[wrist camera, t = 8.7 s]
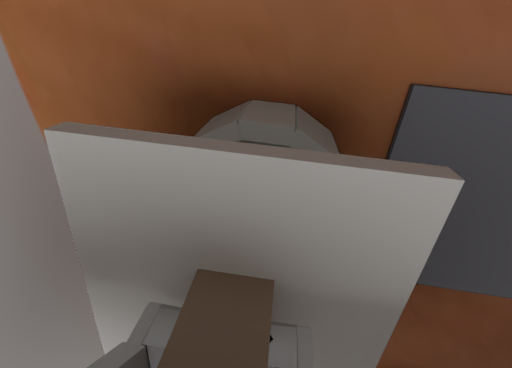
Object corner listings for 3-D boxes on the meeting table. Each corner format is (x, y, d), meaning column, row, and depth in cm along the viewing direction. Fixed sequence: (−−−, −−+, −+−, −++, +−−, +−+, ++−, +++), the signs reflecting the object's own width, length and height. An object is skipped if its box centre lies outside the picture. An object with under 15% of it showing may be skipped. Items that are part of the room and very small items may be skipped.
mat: (686, 113, 16) (697, 116, 15) (537, 298, 23) (542, 303, 23) (411, 83, 17) (414, 85, 16) (349, 268, 24) (350, 273, 24)
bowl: (359, 112, 18) (380, 137, 14) (324, 246, 23) (331, 295, 19) (191, 92, 19) (159, 110, 14) (193, 226, 24) (170, 269, 20)
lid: (448, 166, 9) (594, 287, 5) (351, 388, 15) (375, 532, 11) (65, 121, 10) (-117, 188, 6) (118, 348, 16) (51, 467, 12)
